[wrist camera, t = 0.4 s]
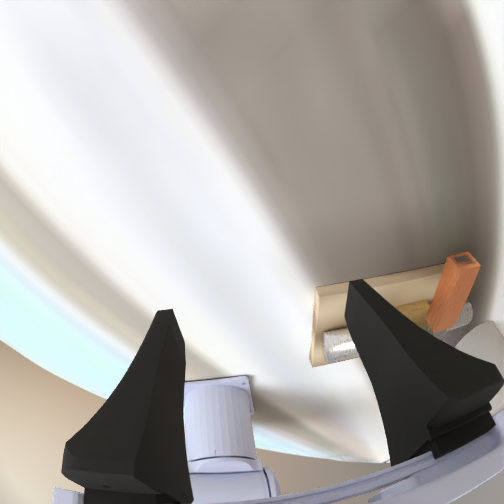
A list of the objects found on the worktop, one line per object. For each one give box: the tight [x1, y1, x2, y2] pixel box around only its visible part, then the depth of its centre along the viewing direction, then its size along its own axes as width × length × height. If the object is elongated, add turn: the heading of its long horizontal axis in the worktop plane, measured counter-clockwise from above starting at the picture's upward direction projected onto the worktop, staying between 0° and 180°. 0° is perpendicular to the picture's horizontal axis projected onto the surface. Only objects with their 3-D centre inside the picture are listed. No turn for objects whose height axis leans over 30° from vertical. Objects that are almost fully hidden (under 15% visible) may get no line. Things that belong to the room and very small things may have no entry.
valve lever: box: [425, 252, 481, 340], centre depth 21 cm, size 12×2×2 cm, turn 4°
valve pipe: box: [321, 299, 473, 363], centre depth 27 cm, size 4×16×4 cm, turn 94°
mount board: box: [309, 264, 447, 367], centre depth 29 cm, size 10×17×1 cm, turn 94°
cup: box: [455, 321, 504, 416], centre depth 32 cm, size 8×8×12 cm
